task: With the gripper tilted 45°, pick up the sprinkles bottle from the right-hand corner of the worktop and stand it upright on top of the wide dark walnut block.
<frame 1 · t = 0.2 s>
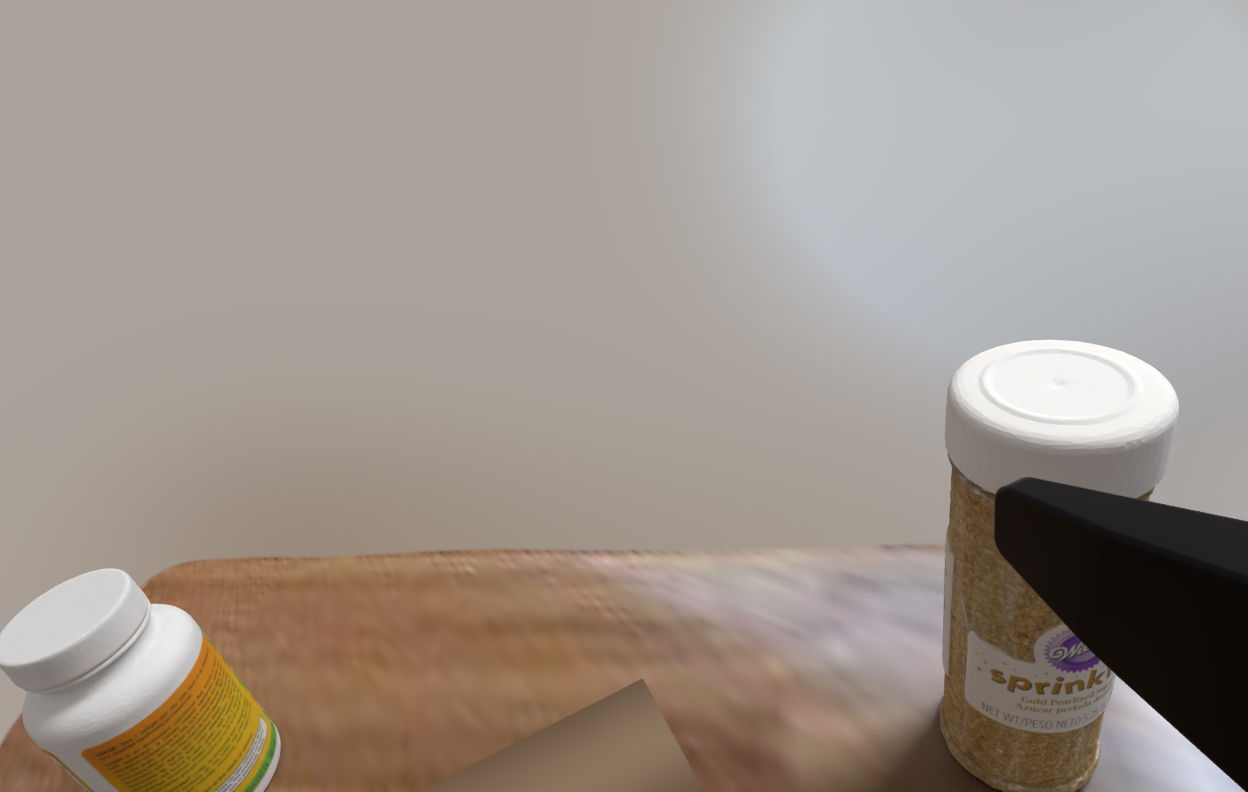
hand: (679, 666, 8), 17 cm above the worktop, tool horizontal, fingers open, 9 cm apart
sprinkles bottle: (1015, 737, 24), on the worktop
supplement bottle: (217, 785, 28), on the worktop
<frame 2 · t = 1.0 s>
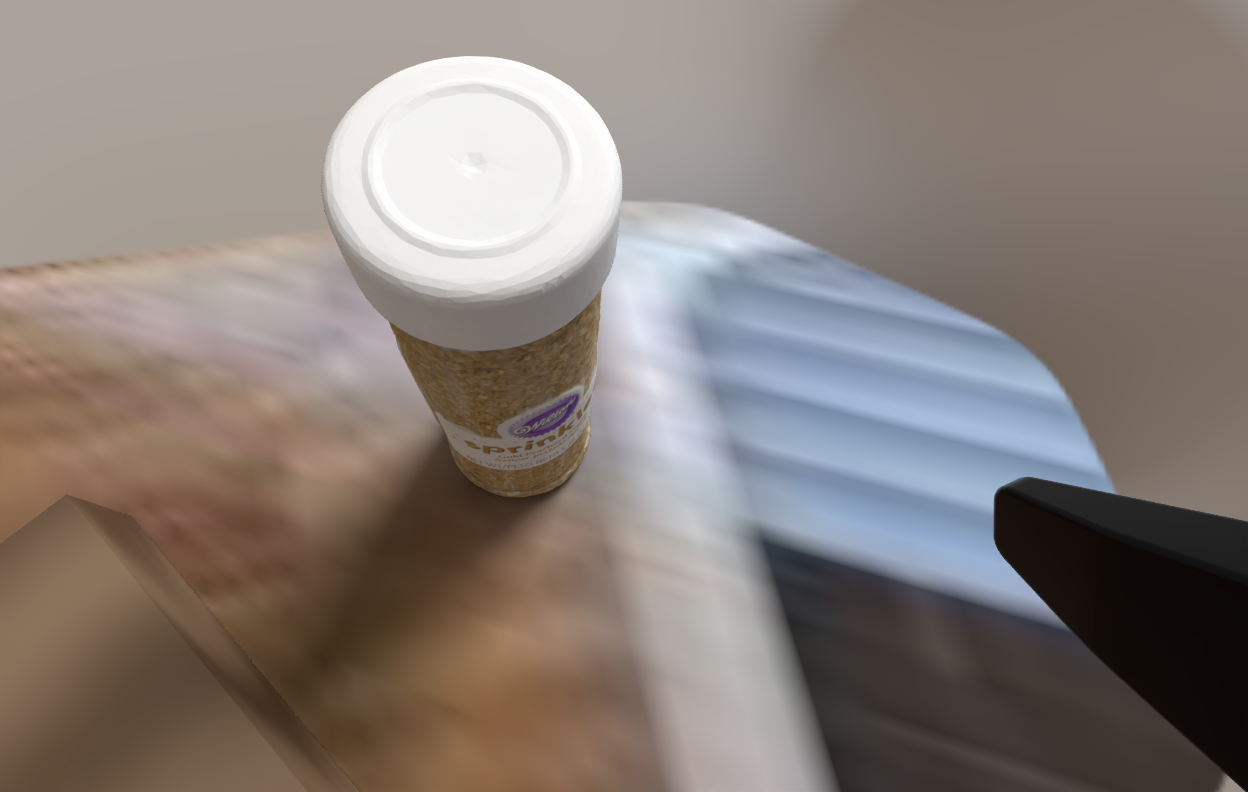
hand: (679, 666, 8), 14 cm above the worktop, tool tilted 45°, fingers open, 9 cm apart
sprinkles bottle: (521, 431, 24), on the worktop
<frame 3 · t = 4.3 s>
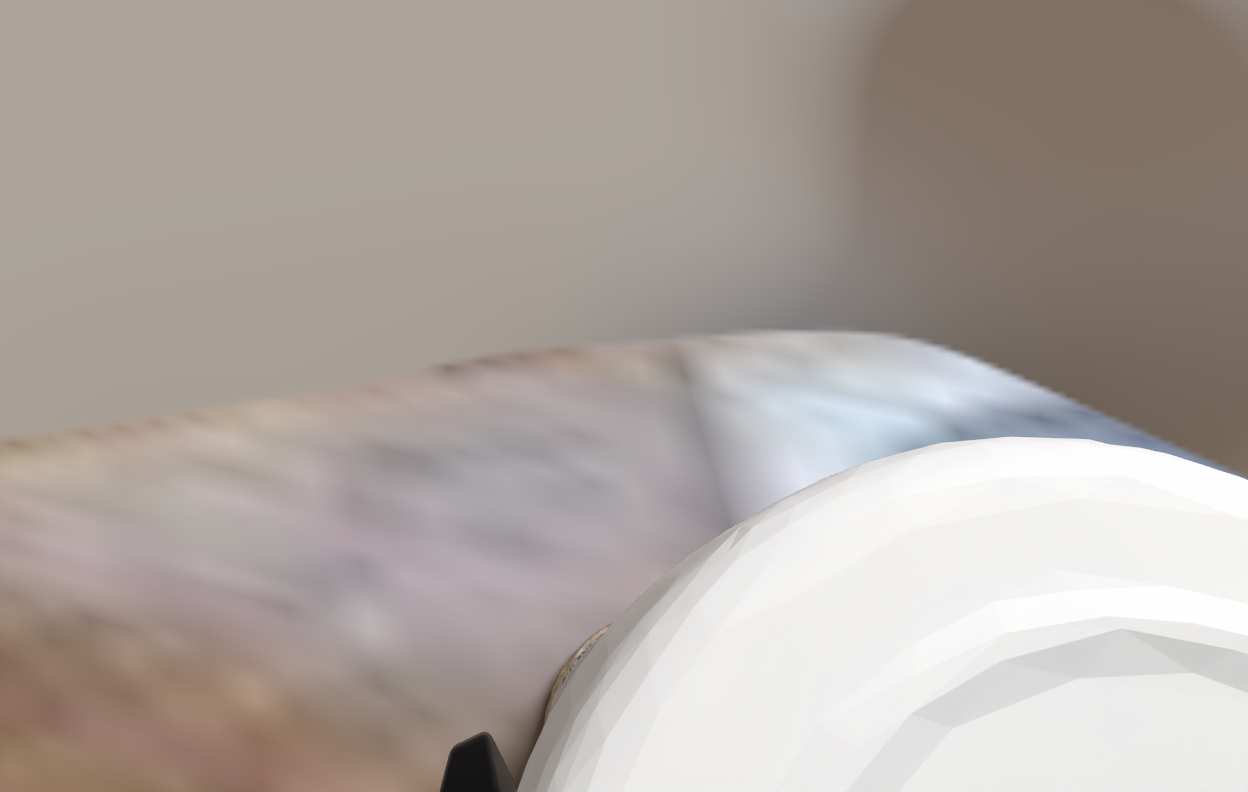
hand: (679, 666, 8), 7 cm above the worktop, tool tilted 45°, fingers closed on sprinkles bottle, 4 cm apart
sprinkles bottle: (655, 727, 15), on the worktop, touching gripper
when the fingers open (10 cm above the worktop, at t = 8.9 s): sprinkles bottle stays where it is, resting on walnut block.
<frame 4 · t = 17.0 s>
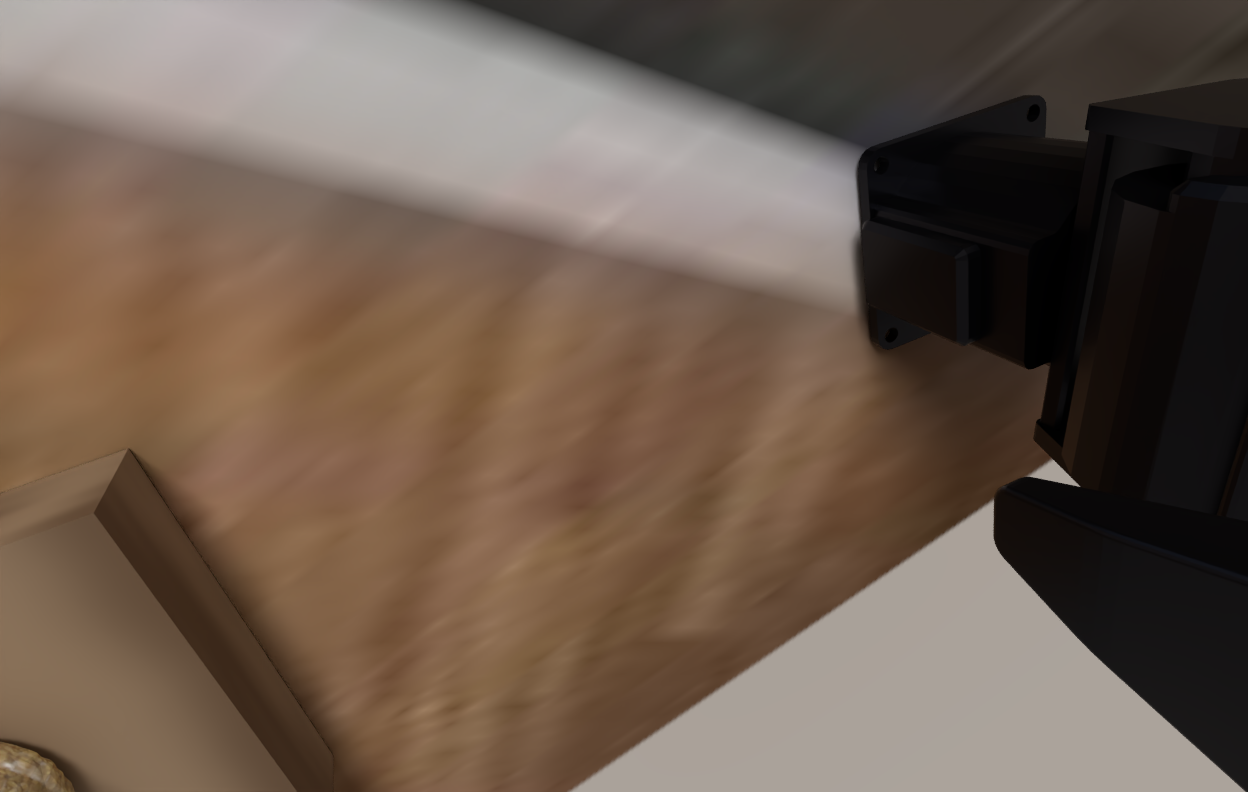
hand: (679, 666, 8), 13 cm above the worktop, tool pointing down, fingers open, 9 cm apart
walnut block: (13, 718, 19), on the worktop
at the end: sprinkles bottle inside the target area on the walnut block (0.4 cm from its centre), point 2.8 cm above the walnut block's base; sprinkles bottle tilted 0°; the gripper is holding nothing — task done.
